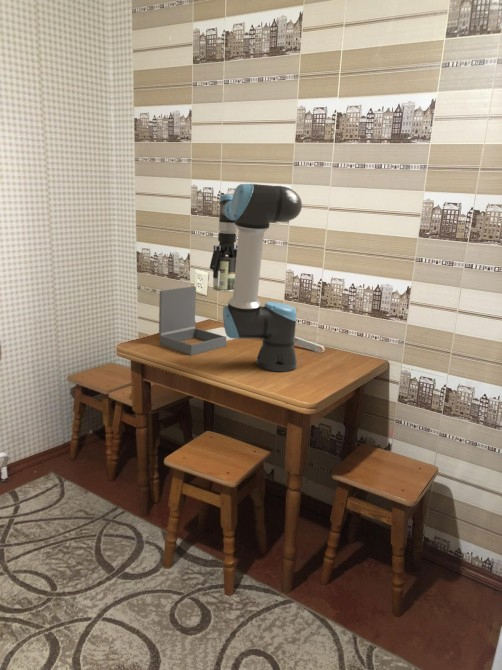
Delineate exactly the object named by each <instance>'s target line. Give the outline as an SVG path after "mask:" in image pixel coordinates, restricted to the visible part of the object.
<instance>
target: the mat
mask: <svg viewBox="0 0 502 670" xmlns="http://www.w3.org/2000/svg"><path fill="white" fill-rule="evenodd" d="M205 331H208V332H211V333H215V334H219V335H222V336H226V342H228V341H231V340H235V339H237V338H229V337H228V336H227V335H226V332H225V328H224V326H221V327H216V328H211V329H206V330H205Z"/></svg>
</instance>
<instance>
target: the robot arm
mask: <svg viewBox="0 0 502 670" xmlns="http://www.w3.org/2000/svg"><path fill="white" fill-rule="evenodd" d="M218 203H219V210H218V211H219V213H218V217H219V218H218V231H219V232H218V236H217V241H218V242H219V244H218V245H213V252H212V256H211V261H210V264H209V270H211V271H213V273H212V278H214V283H213V282H212V286H213V285H214V286H219V281H220V271H218V270H219V268H220V261H218V258H224V257H225V256H229V257H231V258H234V257H236V268H235V280H234V291H233V294H232V297H231V298H229V299H228V303H227V304H228V305H225V306H223V307H222V318H223V319H222V320H223V328H225V332H226V335H227V336H228V337H229V338H236V339H238V340H240V339H241V340H242V339H251V340H253V339H256V340H257V339H262V343H261V347H260V350H259V351H258V355H257V356H256V366H257V367H259V368H260V369H263V370H266V371H270V372H271V371H272V372H290V371H293V370H296V369H297V366H298V359H297V354H296V350H295V344H294V338H295V337H296V324H297V310H296V308H295V307H293V306H291V305H288V304H285V303H281V302H275V301H266V302H265V304H264V306H262V303H261V301H260V300H259V299H258V294H259V287H260V276H261V275H260V274H261V265H262V264H261V263H262V255H263V254H262V253H263V244H264V235H265V232H266V231H267V230H268V229H269V228H270V223H271V222H273V223H277V222H278V223H280V222H281V223H282V222H289V221H292V220H294V219H296V218H297V217H298V216H299V215H300V213H301V212H302V207H303V203H302V199H301V197H300V195H299V194H298V193H297V192H296V191H294V189H292V188H289V187H286V186H282V185H268V184H260V183H259V184H256V183H240V184H238V185H237V186H236V187H235V189H234V191H233V194H221V195H220V197H219V202H218ZM237 230H238V233H237ZM236 233H237V234H236ZM237 235H238V236H237ZM236 241H237V242H236ZM235 243H237V244H235ZM216 267H217V268H216Z"/></svg>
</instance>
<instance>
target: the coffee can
mask: <svg viewBox="0 0 502 670" xmlns="http://www.w3.org/2000/svg"><path fill="white" fill-rule="evenodd" d="M218 261H220V268H219V270H218V271H220V281H219V286H214V285H213V283H214V278H213V277H212V278H213V280H212V281H213V282H212V290H213V291H216V292H223V293H225V292H226V293H228V292H229V293H230V292H233V293H234V280H235V268H236V257H234V258H231V257H229V256H228V255H226V256H225V257H224V258H218ZM216 268H217V267H216Z"/></svg>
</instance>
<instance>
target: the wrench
mask: <svg viewBox="0 0 502 670" xmlns="http://www.w3.org/2000/svg"><path fill="white" fill-rule="evenodd" d="M294 345H296V346H299V347H301V348H303V349H304V348H305V349H308V350H309V351H312V352H315V353H318V354H319V353H320V354H322V353H324V352H325V349H326V348H325V346H324V345H322V344H318V343H316V342H312V341H310V340H308V339H307V340H306V339H304V338H301V337H299V336H295V338H294ZM320 348H321V350H322V351H321V350H320Z"/></svg>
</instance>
